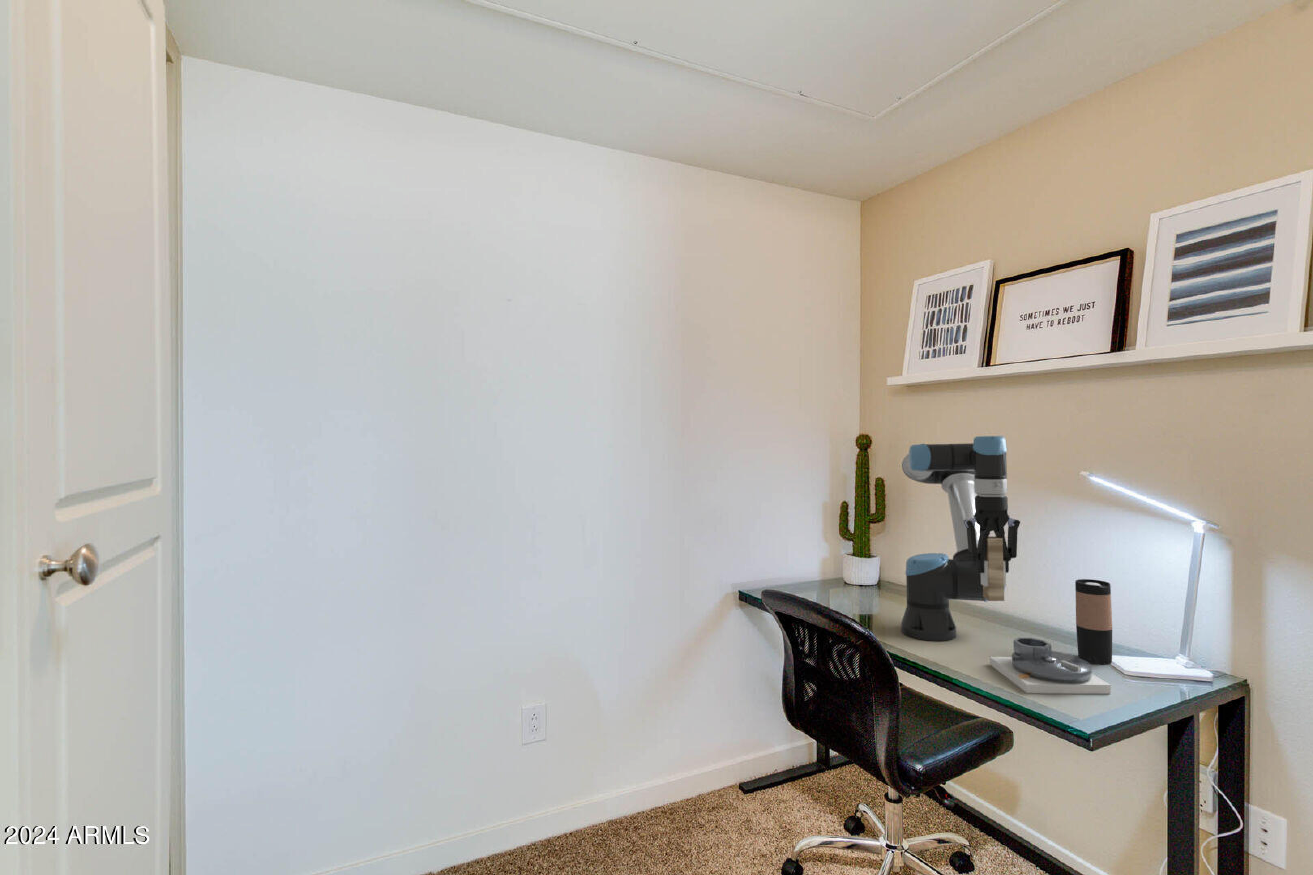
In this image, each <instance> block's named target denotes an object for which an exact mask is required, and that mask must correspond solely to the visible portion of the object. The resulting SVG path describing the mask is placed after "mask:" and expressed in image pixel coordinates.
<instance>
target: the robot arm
mask: <svg viewBox="0 0 1313 875" xmlns="http://www.w3.org/2000/svg"><path fill="white" fill-rule="evenodd" d="M1007 451H1008V447H1007V441H1006V438H1005V436H1003V435H983V436H982V435H981V436H979V435H978V436H975V437H974V439H973V442H972V443H971V442H970V443H966V442H965V443H944V444H943V443H931V444H930V443H927V444H925V443H920V444H919V443H918V444H912V445H911V446H909V451H908V454H906V455H905V457H904V458H903V460H902V462H901V467H902V472H903V474H904V475H905V476H906V477H907V478H908V479H910V480H913V481H915V482H918V483H921V484H922V483H923V484H928V485H929V484H930V485H941V489H942V490H943V491H944V492H945V494H946V493H947V496H948V502H949V509H950V516H951V521H952V528H953V533H954V540H955V548H956V552H954V554H953V556H952V559H950V558H949V557H948V556H949V555H947V554H946V553H940V552H939V553H936V552H934V553H933V552H931V553H929V552H928V553H921V554H920V553H919V554H915V555H912V556H910V557H909V558H907V560H906V562H905V563H906V564H905V573H904V574H905V577H906V578H905V579H906V580H905V582H906V585H905V586H906V608H905V610H904V613H903V616H902V619H901V623H900V629H901V630H900V631H901V633H903V635H905V636H908V637H909V638H910V637H911V638H914V639H918V640H924V641H936V642H939V641H940V642H941V641H942V642H943V641H950V640H953V639H956V638H957V635H958V634H957V626H956V624H955V620H954V619H953V616H952V612H951V610H950V600H958V601H960V600H961V601H976V602H978V601H979V602H985V603H987V602H990V601H989V600H987V599H985V598H984V597H983V585H984V586H989V585H988V561H986V560H985V555H986V549H987V538H988V536H990V534H991V532H993V533H994V536H996V537H998V538H1003V571H1004V592H1005V591H1006V587H1007V582H1006V581H1007V577H1006V576H1007V573H1009V571H1010V565H1009V564H1010V562H1011V560H1013V559H1016V558H1017V555H1018V529H1019V527H1020V525H1021V521H1020V520H1019V519H1017V518H1016V519H1015V518H1012V517H1010V515H1009V512H1008V511H1009V509H1008V508H1009V506H1008V497H1007V494H1008V473H1007V472H1008V471H1007V470H1008V469H1007V466H1008V465H1007V464H1008V462H1007V453H1008V452H1007ZM1006 524H1007V526H1008V527H1007V541H1006V536H1005V534H1006V532H1005V526H1006Z"/></svg>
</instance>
